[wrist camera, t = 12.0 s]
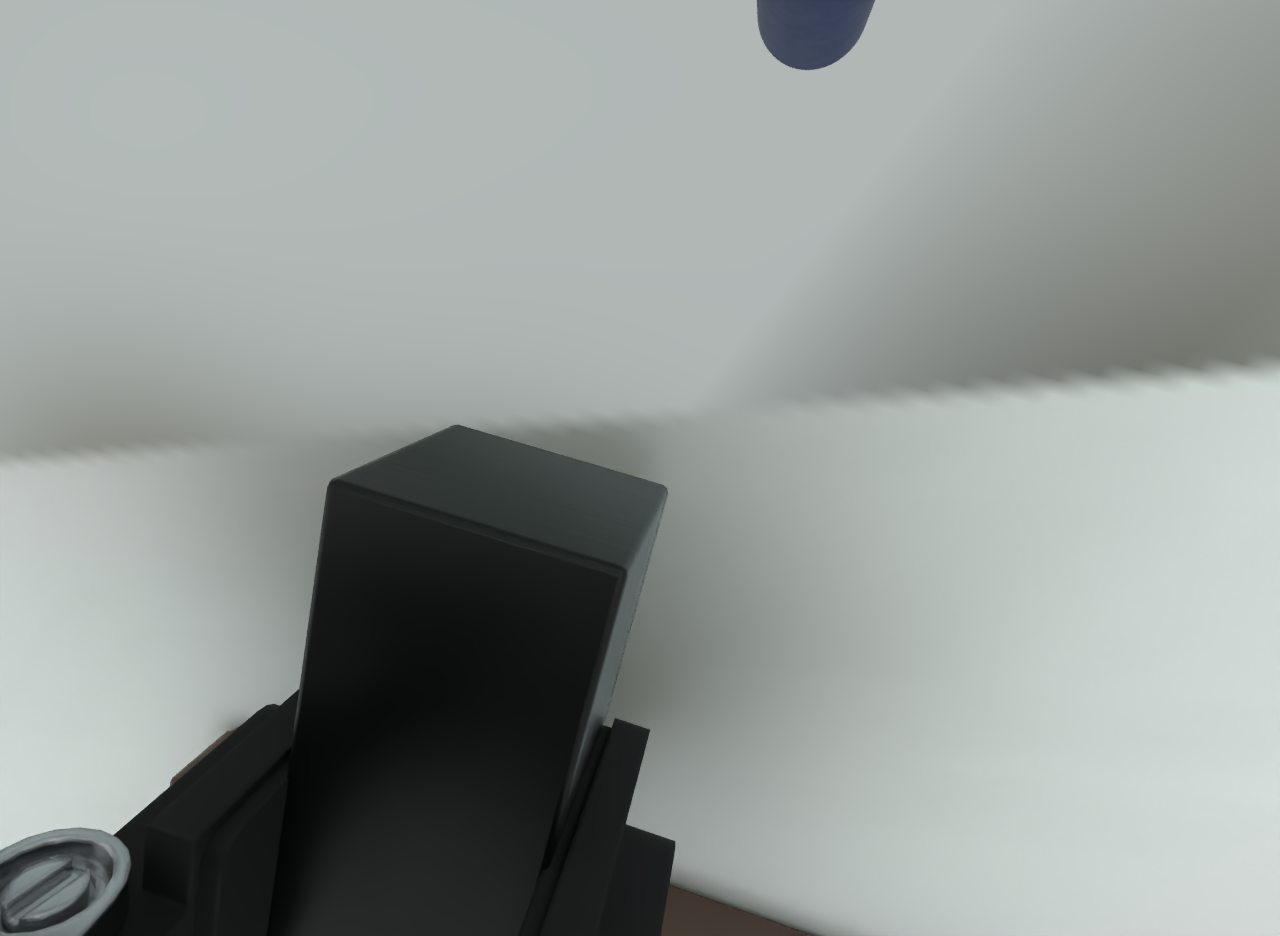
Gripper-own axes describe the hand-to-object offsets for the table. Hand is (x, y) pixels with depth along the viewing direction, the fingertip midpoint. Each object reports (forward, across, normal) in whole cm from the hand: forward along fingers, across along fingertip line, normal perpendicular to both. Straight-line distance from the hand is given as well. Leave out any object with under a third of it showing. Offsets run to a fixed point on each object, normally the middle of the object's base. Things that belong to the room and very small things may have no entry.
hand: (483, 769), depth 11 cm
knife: (0, 0, +5) cm, 5 cm away
